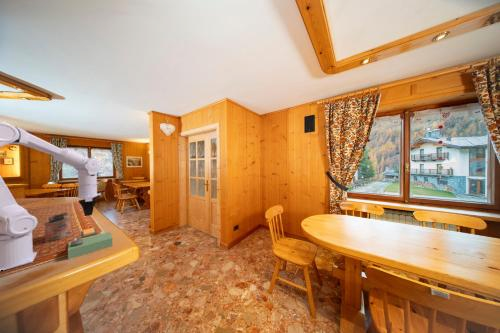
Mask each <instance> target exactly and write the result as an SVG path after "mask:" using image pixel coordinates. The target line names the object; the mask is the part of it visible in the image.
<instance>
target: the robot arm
mask: <svg viewBox="0 0 500 333" xmlns="http://www.w3.org/2000/svg"><path fill="white" fill-rule="evenodd" d="M6 145H22V146H25V147H27V148H31V149H34V150H36V151H40V152H42V153H45V154H48V155H49V156H50V155H51V156H53V159H54V161H57V162H60V163H63V164H66V165H68V166H70V167H73V168H74V169H75V170H76V171H77V182H78V183H77V184H78V186H77V187H78V190H77V191H78V192H77V193H78V194H77V198H78V199H80V200H78V203H79V204H80V206H81V207H82V210H83V215H84V216H85V217H87V216H92V215H93V212H94V207H95V205H96V203H97V201H98V198H97V197H98V196H101V195H102V194H101V193H100V192H99V193H98V178H97V177H98V176H97V174H98V172H99V171H98V170H99V169H100V168H101V164H100V163H99V161H98V159H96V158H92V157H88V155H86V154H81V153H79V152H77V151H75V149H74V148H72V147H71V148H69V147H63V148H62V147H61V148H60V147H58V146H56V145H54V144H52V143H51V142H49V141H46V140H44V139H42V138H40V137H37V136H36V135H33V134H32V133H30V132H29V131H27V130H25V129H23V128H21V127H17V126H14V125H13V124H11V123H8V122H5V121H0V148H1V147H3V146H6ZM37 226H38V218H37V217H36V216H34V215H32V214H30V213H29V212H28V210H27V209H26V208H24V207H22V206H21V205H19V204H18V203H17V201H16V200H15V198H14V196H13V194H12V192H11V191H10V189H9V188H8V186H7V185H6V182H5V181H4V178H2V176H1V175H0V272H2V271H1V270H3V271H5V270H9V269H13V268H17V267H20V266H23V265H27V264H31V263H33V262H34V261H35V258H36V256H37V254H38V252H37V251H34V248H33V247H34V246H33V245H34V243H33V231H34V229H36V227H37Z"/></svg>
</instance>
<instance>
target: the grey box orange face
mask: <svg viewBox="0 0 500 333" xmlns="http://www.w3.org/2000/svg"><path fill="white" fill-rule="evenodd" d="M98 234H99V233H98V230H97V228H94V227H90V228H86V229H83V230H82V231H80V239H82V238H86V237H90V236H94V235H98Z"/></svg>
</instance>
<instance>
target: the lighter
mask: <svg viewBox="0 0 500 333" xmlns="http://www.w3.org/2000/svg"><path fill="white" fill-rule="evenodd" d="M68 215H69V213H68V212H63V213H59V214H53V215H51V216H49V217H47V219H48V221H47V222H44V224H43V226H44V228H45V229H44V234H45V235H44V236H45V239H44V242H45V243H49V242H53V241H56V240H59V239H62V238H64V237H67V236H69V235H71V234H72V231H71V216H68ZM66 216H67V217H66Z"/></svg>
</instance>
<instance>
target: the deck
mask: <svg viewBox="0 0 500 333" xmlns="http://www.w3.org/2000/svg"><path fill="white" fill-rule="evenodd" d="M97 234H98V235H94V236H90V237H86V238H82V239H81V238H80V236H78V237H74V240H72V241H69V242H68V246H67V259H68V260H70V259H74V258H76V257H79V256H83V255H86V254H87V255H88V254H90V253H93V252H96V251H100V250H103V249H106V248H110V247H113V237H112V235H111V231H109V232H108V231H107V232H105V231H104V230H101V231H100V232H99V233H97ZM109 246H110V247H109Z"/></svg>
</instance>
